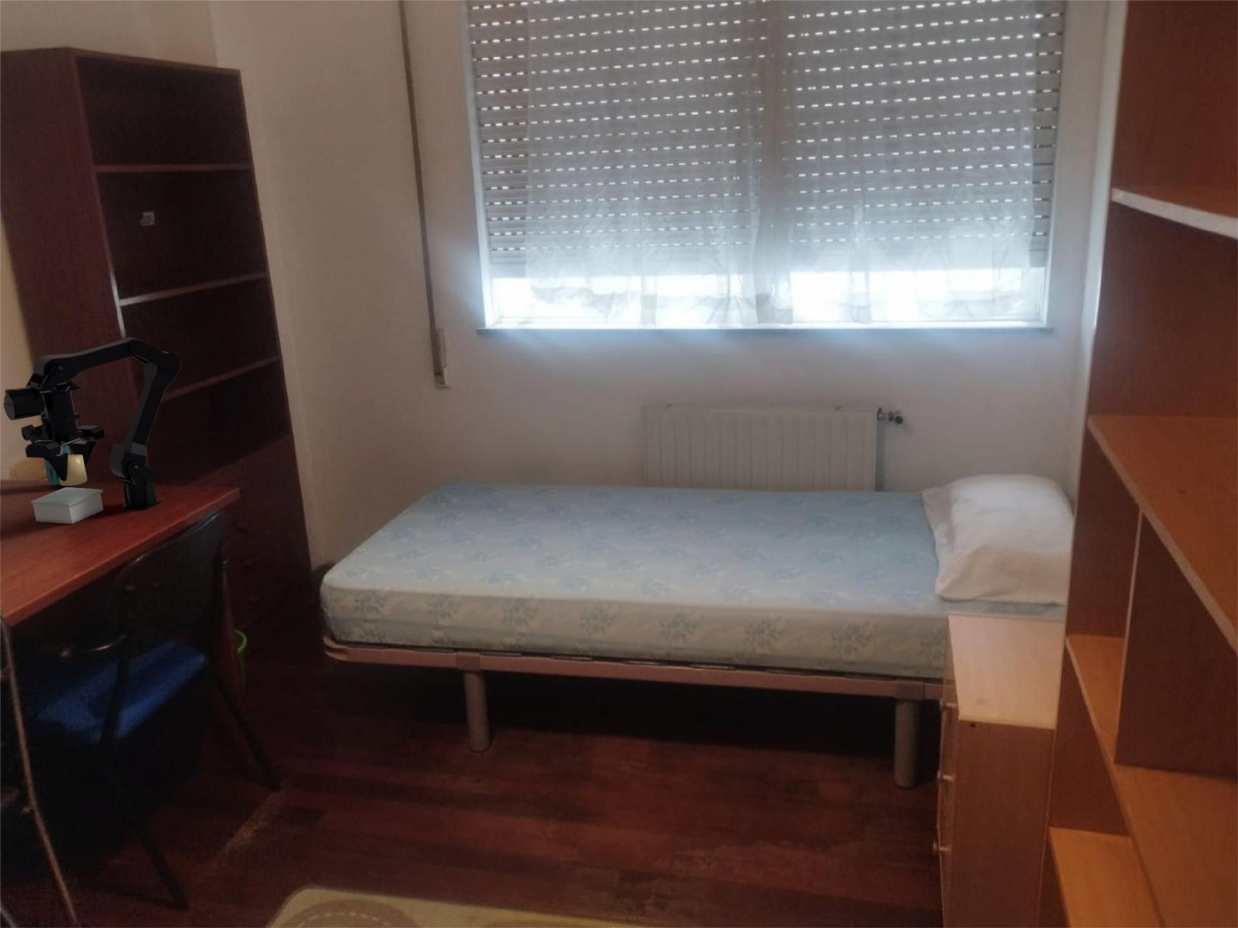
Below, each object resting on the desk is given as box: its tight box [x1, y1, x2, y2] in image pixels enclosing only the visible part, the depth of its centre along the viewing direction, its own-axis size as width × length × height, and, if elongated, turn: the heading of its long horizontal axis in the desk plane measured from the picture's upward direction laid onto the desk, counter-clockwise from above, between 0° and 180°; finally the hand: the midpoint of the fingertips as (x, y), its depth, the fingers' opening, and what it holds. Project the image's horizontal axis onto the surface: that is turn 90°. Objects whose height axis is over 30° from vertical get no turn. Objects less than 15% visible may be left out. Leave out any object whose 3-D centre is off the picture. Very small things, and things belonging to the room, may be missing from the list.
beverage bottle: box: [40, 411, 71, 485], centre depth 250 cm, size 6×7×20 cm
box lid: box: [30, 486, 104, 506], centre depth 229 cm, size 10×11×1 cm
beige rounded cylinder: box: [59, 453, 88, 487], centre depth 222 cm, size 6×6×6 cm
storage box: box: [32, 493, 104, 525], centre depth 229 cm, size 10×10×4 cm
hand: (72, 476), depth 223 cm, fingers closed on beige rounded cylinder, 5 cm apart
